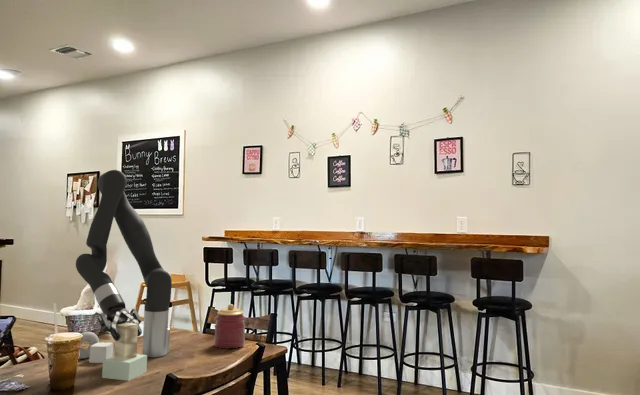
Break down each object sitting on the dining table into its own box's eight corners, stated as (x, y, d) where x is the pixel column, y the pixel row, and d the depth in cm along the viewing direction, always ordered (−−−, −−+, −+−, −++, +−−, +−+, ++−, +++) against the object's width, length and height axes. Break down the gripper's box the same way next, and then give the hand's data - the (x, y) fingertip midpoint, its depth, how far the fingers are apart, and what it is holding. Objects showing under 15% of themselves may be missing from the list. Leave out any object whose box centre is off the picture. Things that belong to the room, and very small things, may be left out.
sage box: (121, 369, 168) (121, 352, 169) (146, 372, 166) (147, 355, 167) (102, 378, 159) (103, 360, 159) (128, 381, 156) (129, 362, 157)
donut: (72, 362, 175) (74, 334, 176) (68, 360, 177) (70, 332, 178) (100, 357, 183) (101, 330, 183) (96, 355, 185) (97, 329, 185)
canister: (207, 346, 203) (209, 304, 205) (228, 340, 214) (229, 300, 216) (230, 351, 197) (232, 307, 198) (250, 345, 208) (252, 303, 209)
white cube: (89, 362, 175) (90, 346, 176) (96, 358, 181) (97, 342, 182) (105, 363, 175) (106, 346, 176) (112, 358, 181) (113, 342, 182)
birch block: (126, 354, 166) (128, 322, 167) (136, 356, 164) (137, 324, 165) (114, 357, 162) (115, 324, 163) (124, 360, 160) (125, 326, 160)
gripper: (96, 294, 162) (116, 334, 155) (131, 290, 174) (152, 326, 168) (85, 309, 164) (105, 348, 158) (121, 303, 176) (141, 340, 170)
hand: (129, 337), depth 163 cm, fingers open, 8 cm apart
